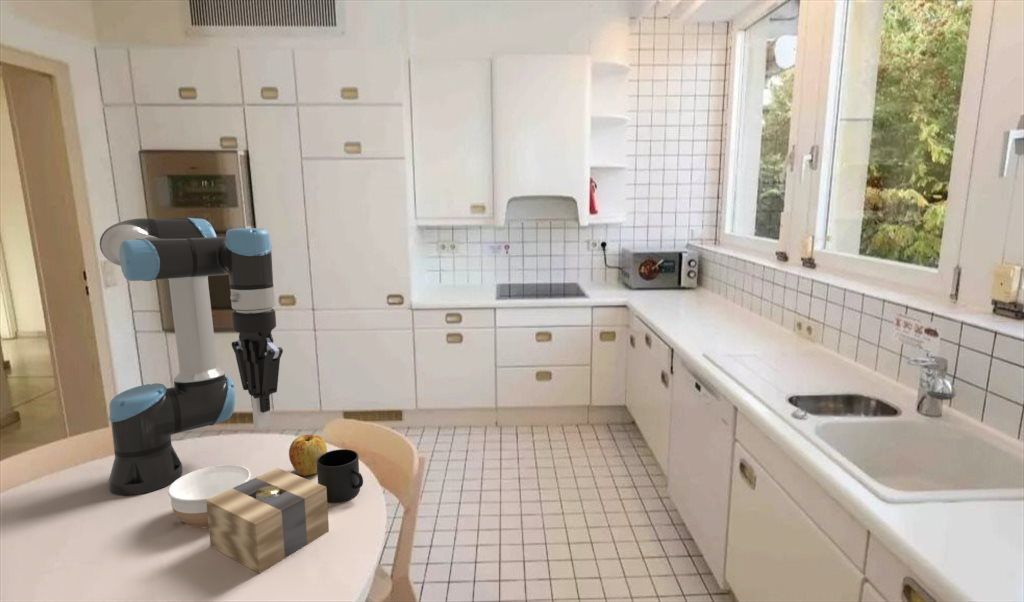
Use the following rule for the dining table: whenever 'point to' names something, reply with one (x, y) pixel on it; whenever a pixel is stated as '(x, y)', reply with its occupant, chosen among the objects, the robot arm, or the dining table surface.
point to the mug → (339, 474)
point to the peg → (267, 493)
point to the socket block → (267, 519)
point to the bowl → (203, 491)
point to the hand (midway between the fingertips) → (262, 425)
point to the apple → (306, 453)
